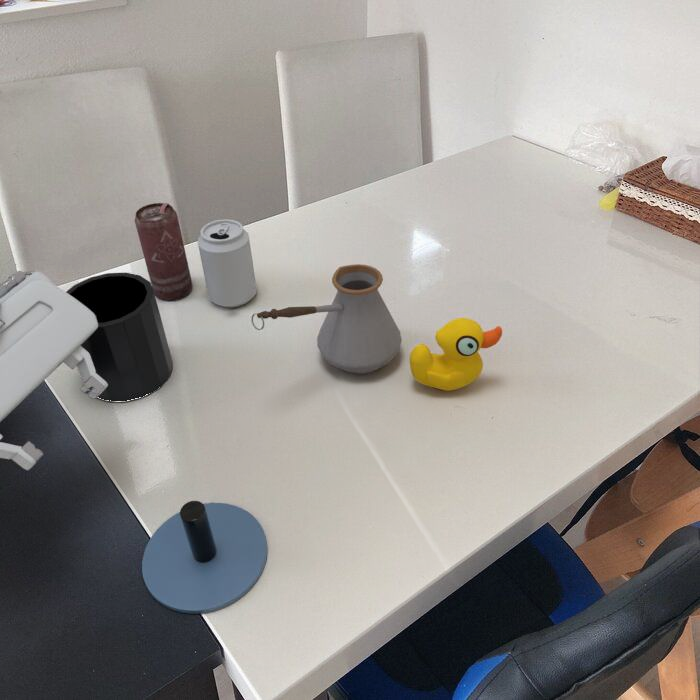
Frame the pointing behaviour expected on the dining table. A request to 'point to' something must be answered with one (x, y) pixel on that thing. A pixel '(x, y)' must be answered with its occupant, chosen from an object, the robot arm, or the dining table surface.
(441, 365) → the duckling
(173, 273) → the can
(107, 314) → the cup
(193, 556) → the lid
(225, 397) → the dining table surface
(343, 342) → the coffee pot
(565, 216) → the dining table surface
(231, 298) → the can
